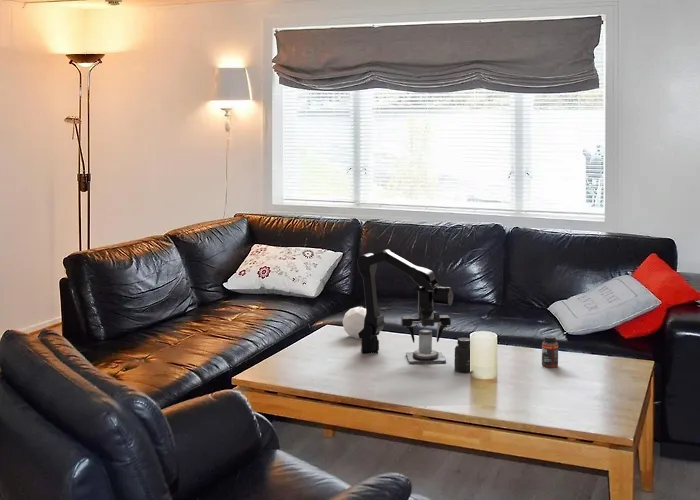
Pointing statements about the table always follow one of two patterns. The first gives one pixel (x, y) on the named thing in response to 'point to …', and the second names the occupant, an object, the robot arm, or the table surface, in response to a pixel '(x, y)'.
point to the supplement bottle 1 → (462, 356)
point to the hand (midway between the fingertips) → (425, 342)
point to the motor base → (425, 357)
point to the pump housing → (425, 341)
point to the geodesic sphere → (354, 321)
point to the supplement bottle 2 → (550, 352)
